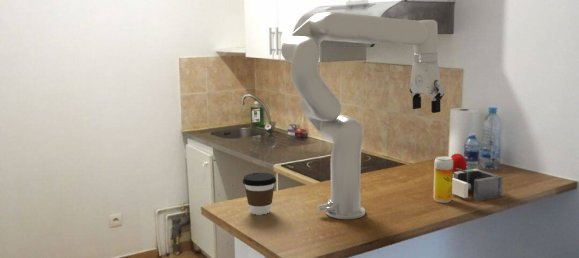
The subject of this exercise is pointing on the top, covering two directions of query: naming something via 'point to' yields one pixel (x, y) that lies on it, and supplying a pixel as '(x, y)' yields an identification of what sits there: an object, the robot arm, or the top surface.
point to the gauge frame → (482, 183)
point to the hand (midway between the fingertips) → (426, 110)
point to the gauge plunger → (461, 185)
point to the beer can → (443, 179)
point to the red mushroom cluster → (458, 162)
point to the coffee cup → (259, 192)
